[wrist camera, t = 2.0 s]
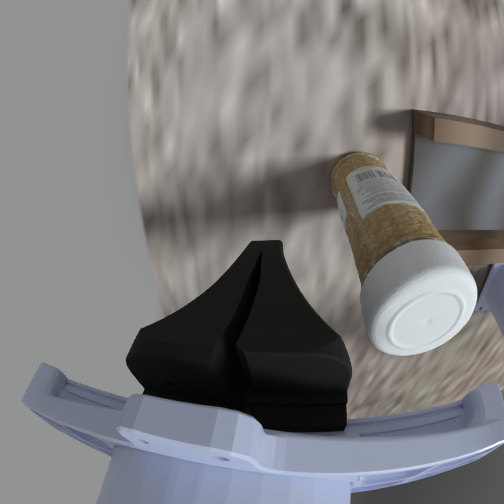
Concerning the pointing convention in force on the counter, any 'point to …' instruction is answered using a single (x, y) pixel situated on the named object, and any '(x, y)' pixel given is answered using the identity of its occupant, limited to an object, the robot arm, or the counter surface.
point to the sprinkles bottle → (400, 261)
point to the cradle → (460, 182)
